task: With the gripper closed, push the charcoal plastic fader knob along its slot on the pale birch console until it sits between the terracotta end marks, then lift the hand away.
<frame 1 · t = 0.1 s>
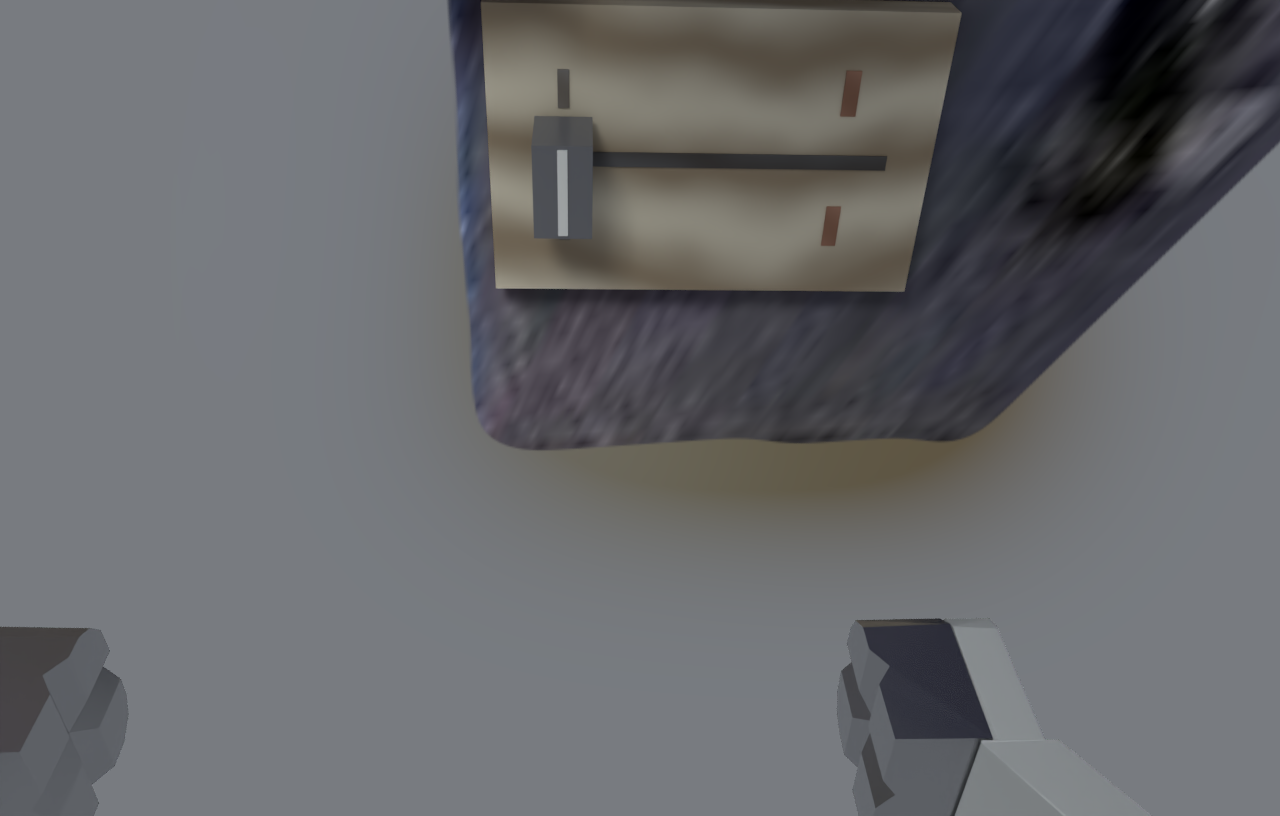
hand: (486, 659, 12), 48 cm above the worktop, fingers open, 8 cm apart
console: (708, 146, 59), on the worktop
fader knob: (563, 177, 54), point 5 cm above the worktop, slide at 0.0 cm
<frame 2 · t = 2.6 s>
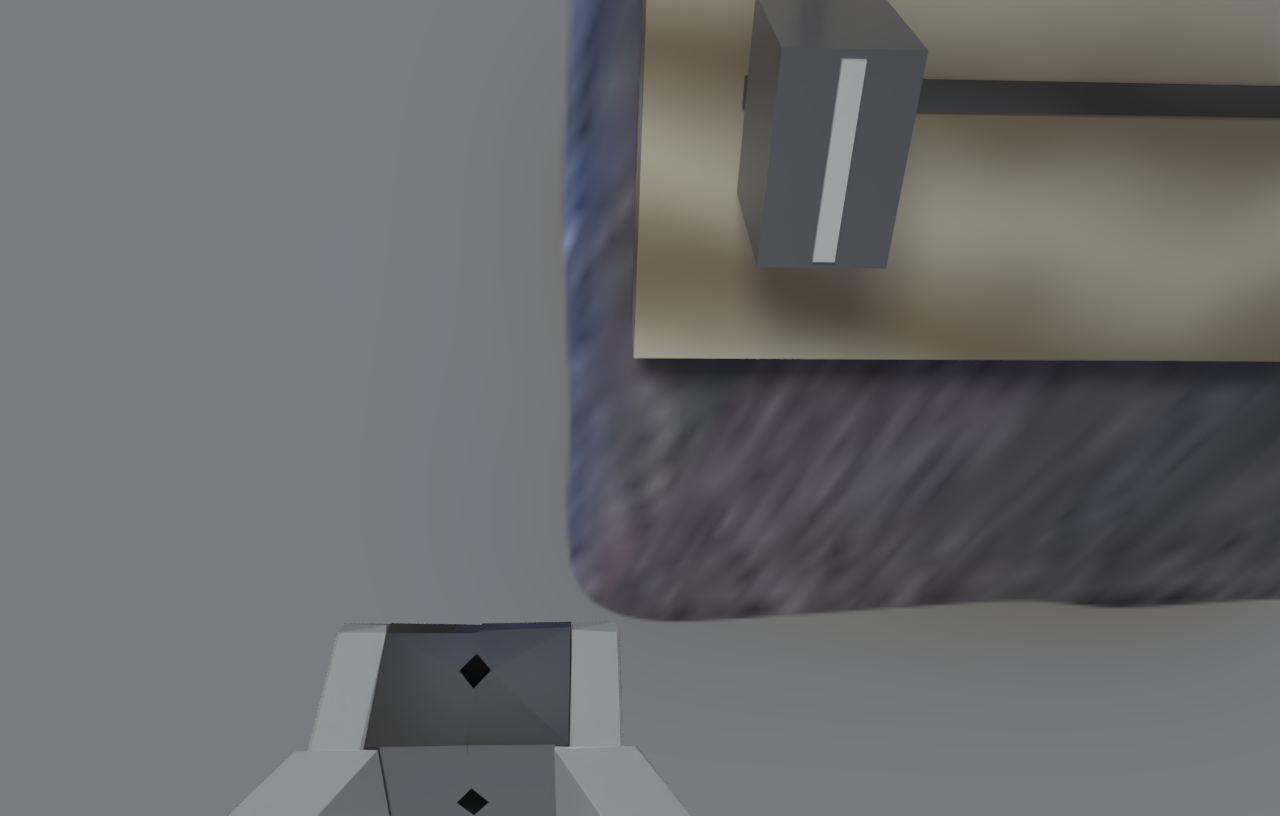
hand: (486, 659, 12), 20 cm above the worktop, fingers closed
console: (1084, 71, 28), on the worktop
fader knob: (821, 131, 24), point 5 cm above the worktop, slide at 0.0 cm
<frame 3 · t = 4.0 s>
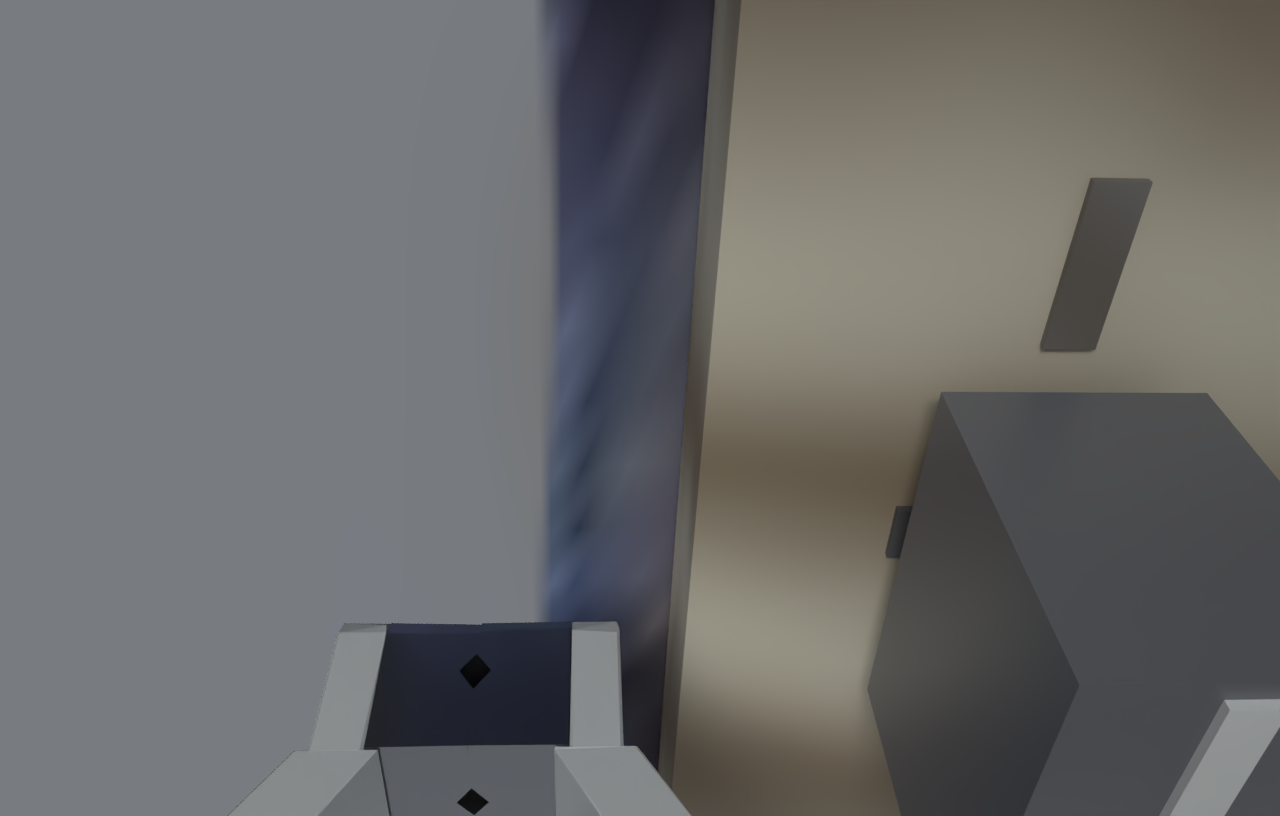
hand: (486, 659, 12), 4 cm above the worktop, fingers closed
fader knob: (1081, 690, 11), point 5 cm above the worktop, slide at 0.0 cm
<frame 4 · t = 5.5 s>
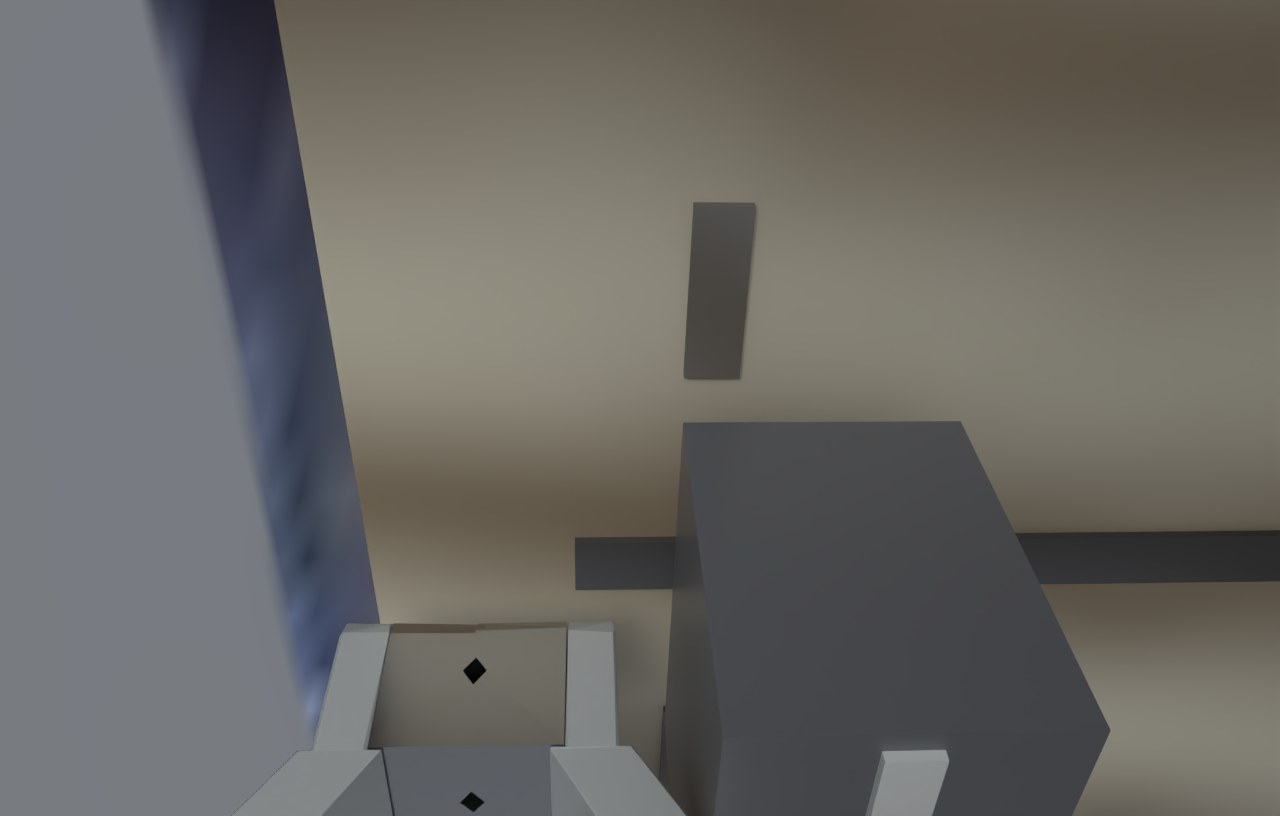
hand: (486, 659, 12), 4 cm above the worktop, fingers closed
console: (1240, 455, 15), on the worktop
fader knob: (828, 729, 11), point 5 cm above the worktop, slide at 1.2 cm, touching gripper
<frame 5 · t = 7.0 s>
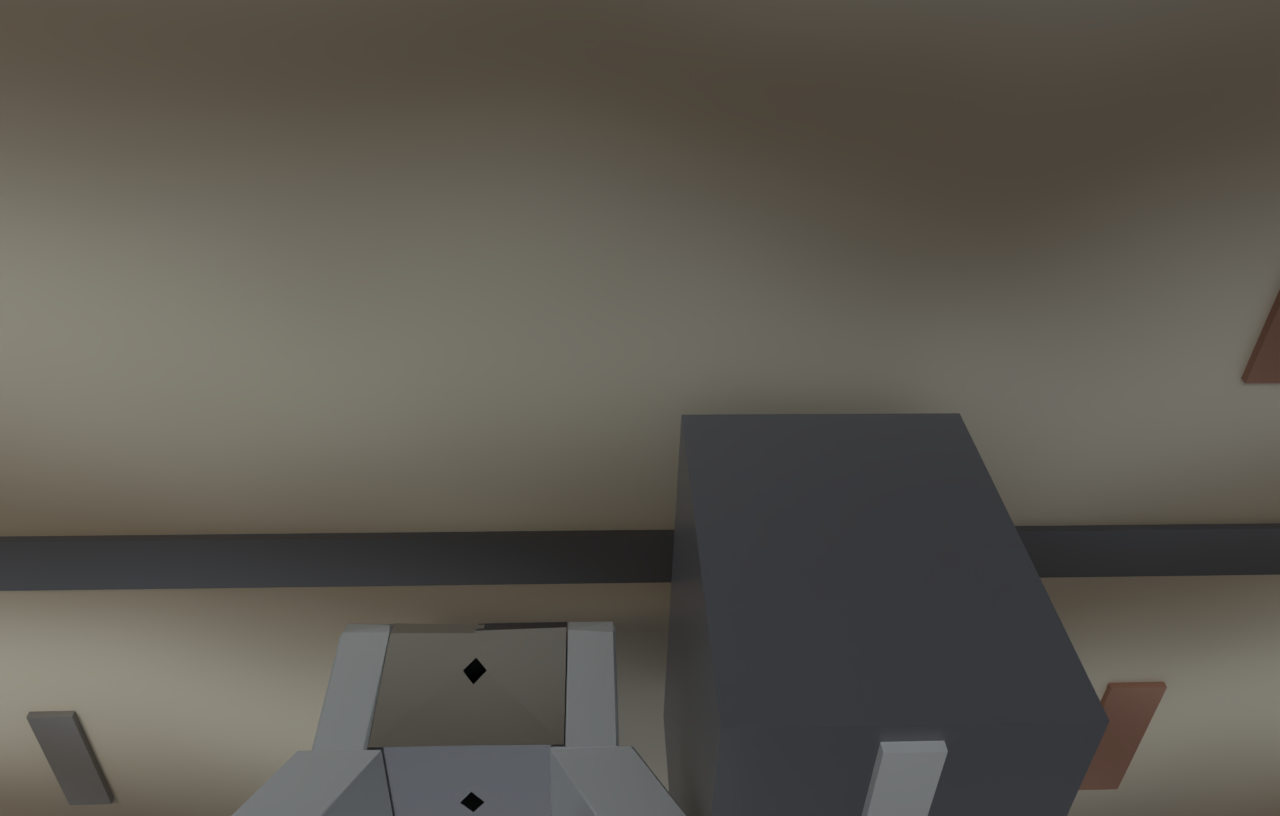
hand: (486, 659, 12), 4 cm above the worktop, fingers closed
console: (640, 453, 15), on the worktop
fader knob: (826, 721, 11), point 5 cm above the worktop, slide at 9.8 cm, touching gripper
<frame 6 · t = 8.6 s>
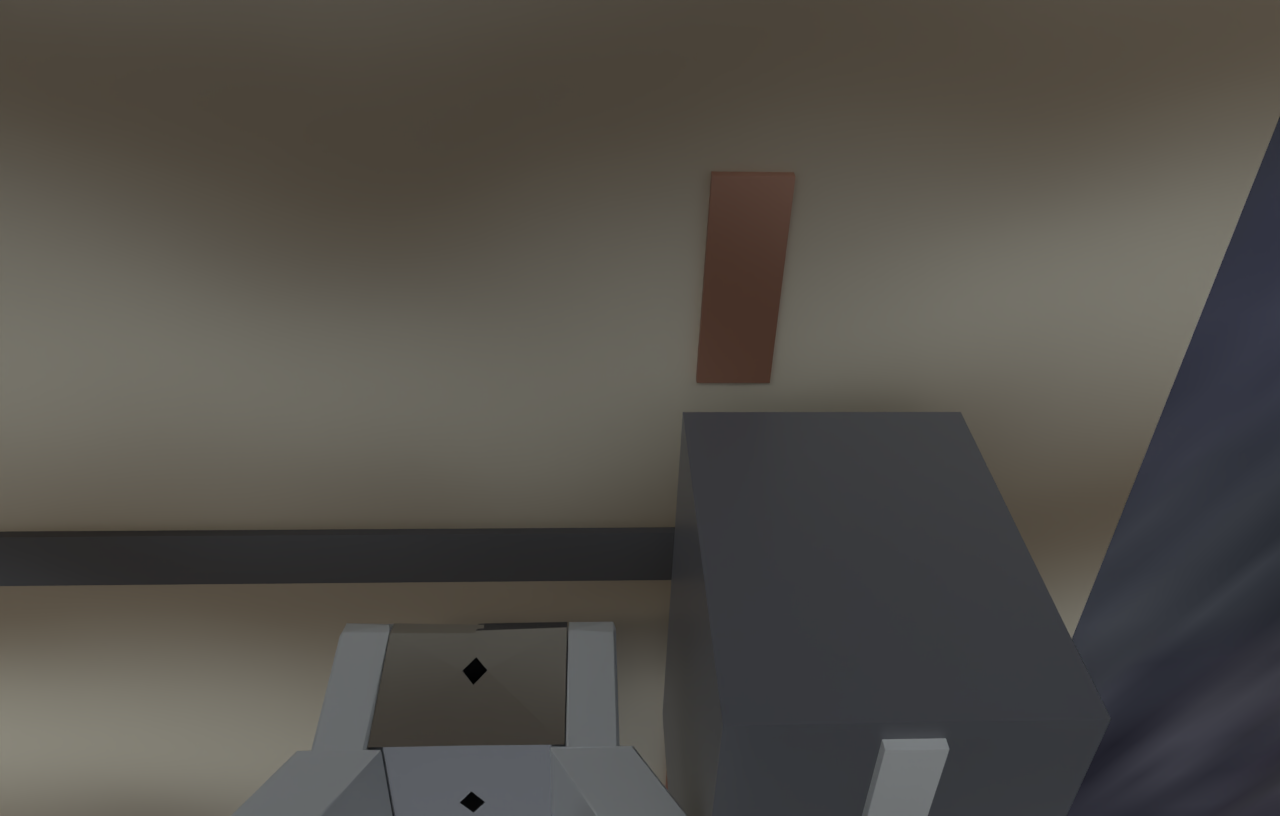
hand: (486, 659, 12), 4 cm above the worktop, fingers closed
console: (188, 452, 14), on the worktop
fader knob: (826, 719, 11), point 5 cm above the worktop, slide at 15.9 cm, touching gripper
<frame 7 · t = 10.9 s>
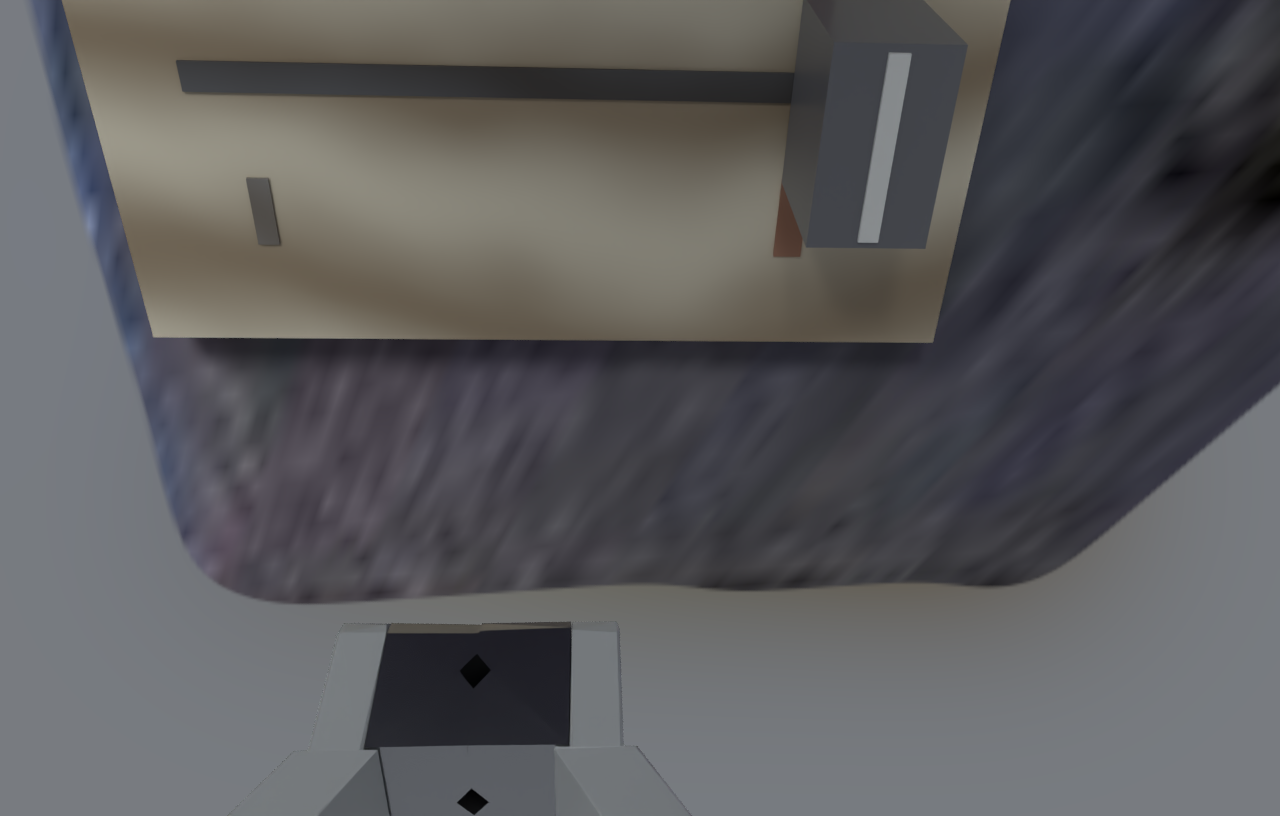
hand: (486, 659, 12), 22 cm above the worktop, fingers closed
console: (548, 59, 30), on the worktop
fader knob: (864, 122, 26), point 5 cm above the worktop, slide at 16.0 cm
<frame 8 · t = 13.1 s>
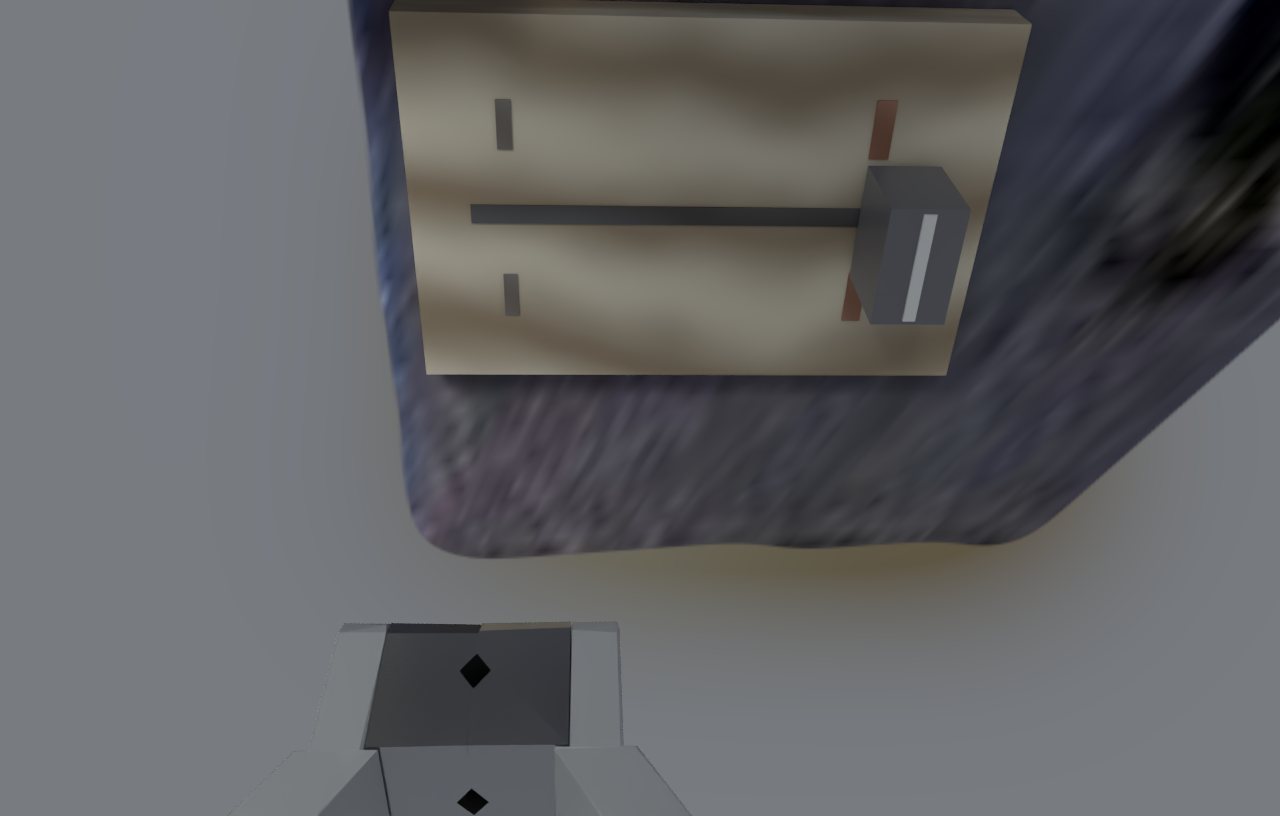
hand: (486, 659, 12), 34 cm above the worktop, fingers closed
console: (697, 195, 45), on the worktop
fader knob: (906, 245, 42), point 5 cm above the worktop, slide at 16.0 cm
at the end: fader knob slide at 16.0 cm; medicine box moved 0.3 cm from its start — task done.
